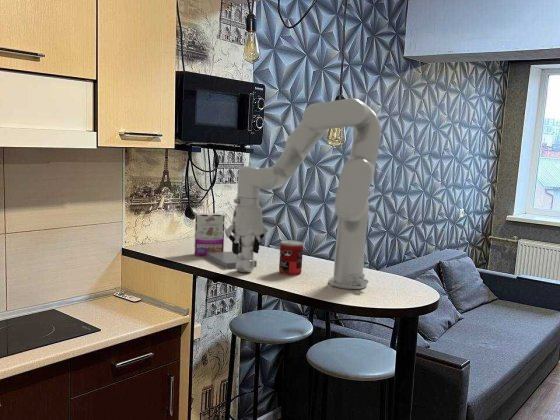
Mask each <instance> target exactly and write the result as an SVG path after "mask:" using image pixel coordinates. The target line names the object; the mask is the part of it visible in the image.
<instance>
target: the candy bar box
mask: <svg viewBox="0 0 560 420" xmlns="http://www.w3.org/2000/svg"><path fill="white" fill-rule="evenodd" d="M194 215H195V217H194V219H195V220H194V223H195V224H194V256H195V257H207V253H214V252H224V247H225V246H224V245H225V243H224V242H225V214H224V213H219V212H218V213H213V212H210V213H208V212H207V213H205V212H200V213H199V212H195V214H194Z"/></svg>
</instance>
